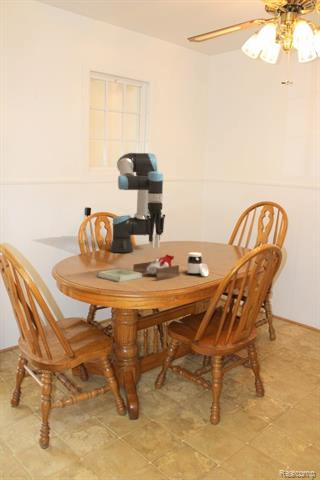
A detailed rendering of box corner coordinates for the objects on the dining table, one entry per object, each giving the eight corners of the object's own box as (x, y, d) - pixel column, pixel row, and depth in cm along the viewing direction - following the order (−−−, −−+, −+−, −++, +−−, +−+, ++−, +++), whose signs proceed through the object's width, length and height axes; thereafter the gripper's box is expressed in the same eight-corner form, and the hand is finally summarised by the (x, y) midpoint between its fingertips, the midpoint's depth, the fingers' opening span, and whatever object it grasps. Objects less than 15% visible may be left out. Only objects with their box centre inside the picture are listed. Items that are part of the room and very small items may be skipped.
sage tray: (97, 276, 214) (97, 271, 214) (119, 273, 225) (119, 268, 224) (119, 282, 202) (119, 276, 202) (141, 278, 213) (141, 273, 213)
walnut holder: (133, 275, 219) (133, 264, 218) (155, 271, 231) (155, 261, 230) (157, 280, 207) (157, 268, 206) (179, 276, 219) (179, 265, 218)
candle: (145, 270, 222) (162, 248, 224) (162, 283, 222) (178, 261, 223) (145, 269, 213) (162, 246, 215) (162, 283, 213) (180, 260, 214)
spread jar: (188, 272, 230) (188, 251, 228) (208, 273, 228) (209, 252, 227) (186, 277, 218) (186, 254, 217) (208, 277, 216) (208, 255, 215)
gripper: (148, 202, 205) (148, 249, 208) (171, 202, 216) (170, 246, 219) (138, 202, 210) (138, 248, 213) (160, 201, 222) (159, 245, 224)
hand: (154, 247), depth 216 cm, fingers open, 3 cm apart
